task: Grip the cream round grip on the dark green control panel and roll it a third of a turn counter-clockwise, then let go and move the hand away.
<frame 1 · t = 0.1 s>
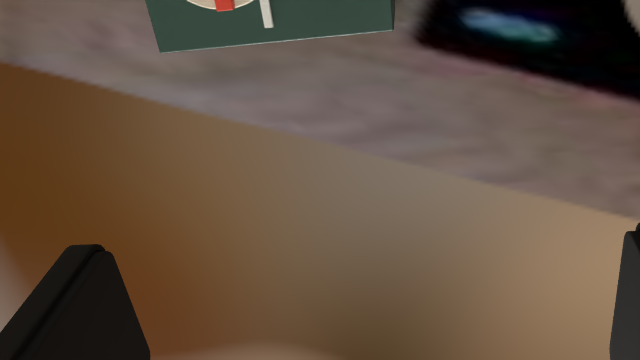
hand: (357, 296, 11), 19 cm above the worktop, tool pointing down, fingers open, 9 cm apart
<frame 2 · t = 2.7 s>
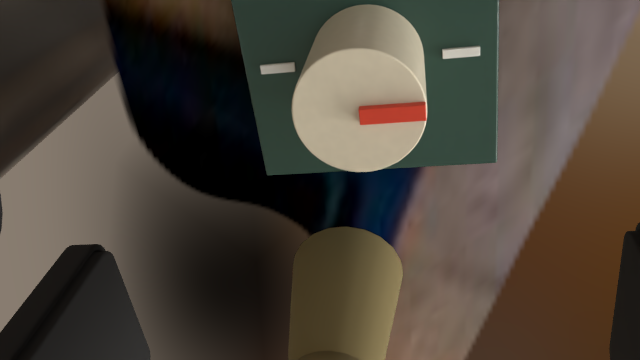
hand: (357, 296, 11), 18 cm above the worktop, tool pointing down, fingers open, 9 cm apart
cork: (347, 269, 34), on the worktop
panel: (371, 35, 27), on the worktop
grip knob: (362, 86, 22), point 6 cm above the worktop, hinge at 0.0°
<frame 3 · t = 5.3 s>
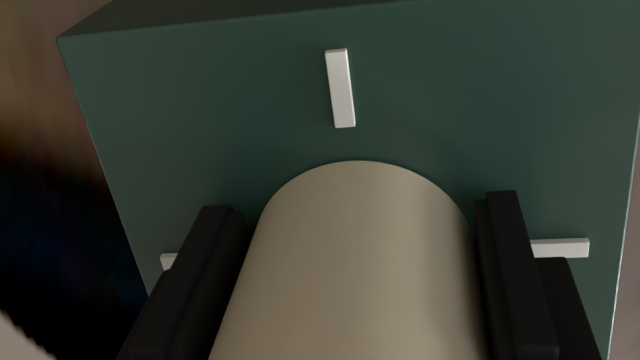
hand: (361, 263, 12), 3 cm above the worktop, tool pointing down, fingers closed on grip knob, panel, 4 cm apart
panel: (370, 177, 15), on the worktop
grip knob: (352, 352, 10), point 6 cm above the worktop, hinge at 0.0°, touching gripper
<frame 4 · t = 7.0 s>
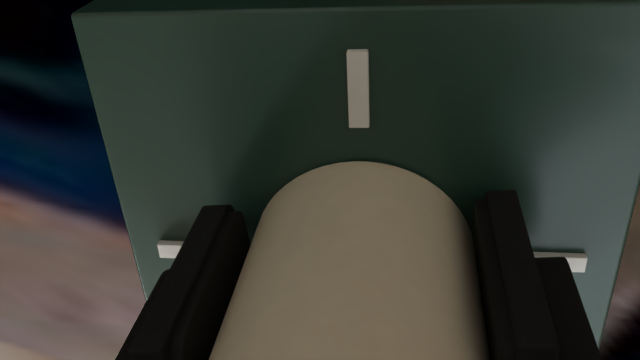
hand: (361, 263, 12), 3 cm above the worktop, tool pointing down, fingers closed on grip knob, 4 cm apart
panel: (370, 178, 15), on the worktop
grip knob: (352, 353, 10), point 6 cm above the worktop, hinge at 93.5°, touching gripper
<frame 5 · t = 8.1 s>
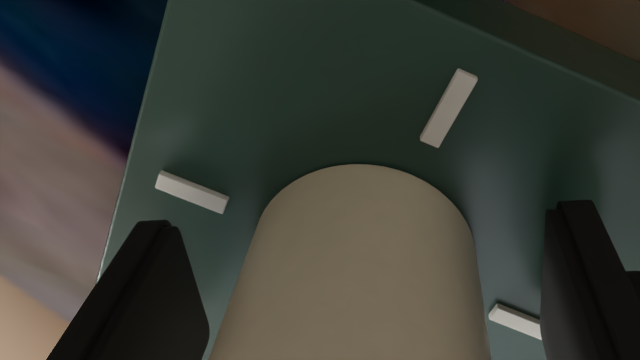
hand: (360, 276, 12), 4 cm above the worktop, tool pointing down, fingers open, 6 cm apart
panel: (370, 180, 15), on the worktop
grip knob: (351, 359, 10), point 6 cm above the worktop, hinge at 118.9°
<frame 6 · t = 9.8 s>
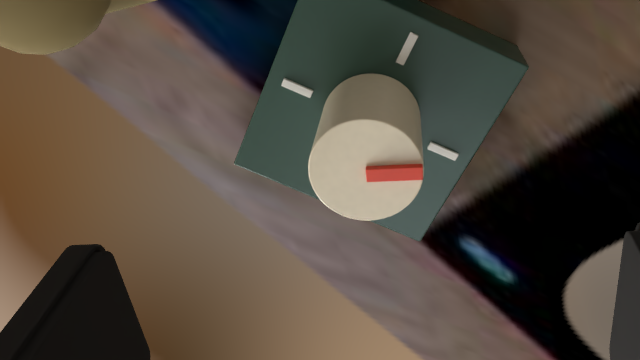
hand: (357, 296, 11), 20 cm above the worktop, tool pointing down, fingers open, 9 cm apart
panel: (373, 95, 30), on the worktop
grip knob: (368, 145, 25), point 6 cm above the worktop, hinge at 118.9°
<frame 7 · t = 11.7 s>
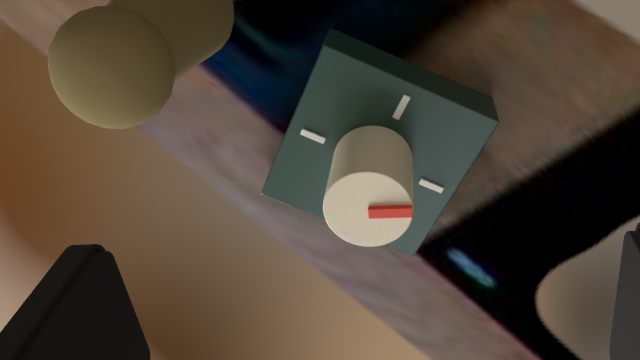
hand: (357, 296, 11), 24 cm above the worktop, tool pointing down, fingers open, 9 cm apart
cork: (182, 8, 34), on the worktop
panel: (375, 136, 37), on the worktop
grip knob: (370, 185, 32), point 6 cm above the worktop, hinge at 118.9°
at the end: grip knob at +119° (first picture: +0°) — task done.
